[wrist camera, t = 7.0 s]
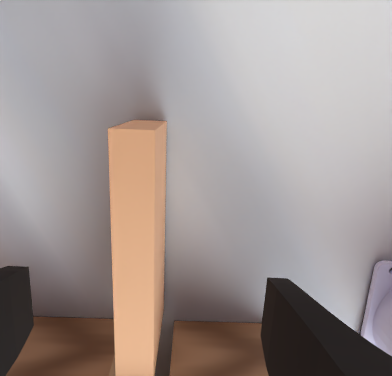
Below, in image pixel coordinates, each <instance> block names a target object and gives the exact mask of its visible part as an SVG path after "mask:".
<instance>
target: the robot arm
mask: <svg viewBox="0 0 392 376" xmlns="http://www.w3.org/2000/svg"><path fill="white" fill-rule="evenodd" d="M390 268H392V261H385V260H383V261H379V262H378V263H377V264H376V265H375V267H374V271H373V276H372V281H371V286H370V291H369V295H368V300H367V305H366V310H365V315H364V320H363V324H362V329H361V334H358V333H357V332H355V331H354V330H352V329H351V328H350V327H348V326H347V325H346V324H344V323H343V322H342V321H340V320H339V319H338V318H337V317H335V316H334V315H333V314H331V313H330V312H329V311H328V310H326V309H325V308H324V307H323V306H321V305H320V304H319V303H318V302H316V301H315V300H314V299H313V298H312V297H310V296H309V295H308V294H307V293H305V292H304V291H303V290H302V289H301V288H299V287H298V286H297V285H296V284H294V283H293V282H292V281H290V280H289V279H285V278H267V285H266V294H265V302H264V310H263V318H262V326H261V334H260V335H261V341H262V347H263V353H264V358H265V363H266V368H267V372H268V375H269V376H392V271H389V270H390ZM33 326H34V321H33V310H32V299H31V289H30V278H29V267H18V266H7V267H4V268H0V376H6V374H7V373H8V371H9V370H10V368H11V367H12V365H13V364H14V362H15V361H16V359H17V358H18V356H19V354H20V352H21V350H22V348H23V346H24V345H25V343H26V341H27V339H28V337H29V335H30V332H31V330H32V328H33Z"/></svg>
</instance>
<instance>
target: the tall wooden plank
mask: <svg viewBox="0 0 392 376" xmlns="http://www.w3.org/2000/svg"><path fill="white" fill-rule="evenodd" d="M166 135H167V121H152V120H132V121H129V122H126V123H123V124H120V125H117V126H114V127H111V128H108V148H109V180H110V213H111V245H112V277H113V310H114V342H115V374H116V376H154V375H155V368H156V361H157V353H158V346H159V339H160V332H161V325H162V318H163V311H164V258H165V197H166Z"/></svg>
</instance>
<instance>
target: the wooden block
mask: <svg viewBox="0 0 392 376" xmlns="http://www.w3.org/2000/svg"><path fill="white" fill-rule="evenodd" d="M33 321H34V326H33V328H32V330H31V332H30V335H29V337H28V339H27V341H26V343H25V345H24V346H23V348H22V350H21V352H20V354H19V356H18V358H17V359H16V361H15V362H14V364H13V365H12V367H11V368H10V370H9V371H8V373H7V374H6V376H116V374H115V342H114V319H100V318H66V317H33ZM261 326H262V323H237V322H203V321H174V330H173V342H172V353H171V365H170V376H269V375H268V372H267V368H266V363H265V358H264V353H263V347H262V341H261V335H260V334H261Z"/></svg>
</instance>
